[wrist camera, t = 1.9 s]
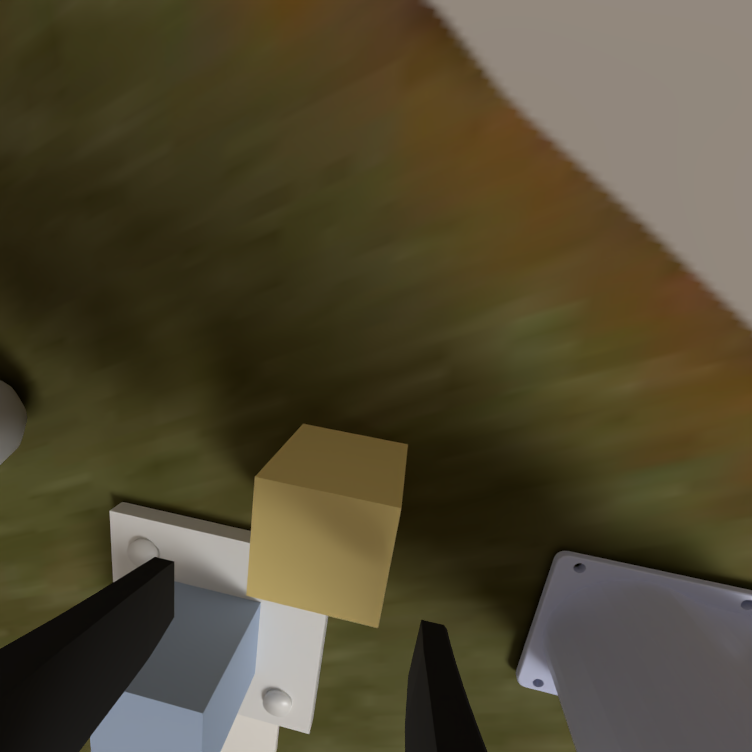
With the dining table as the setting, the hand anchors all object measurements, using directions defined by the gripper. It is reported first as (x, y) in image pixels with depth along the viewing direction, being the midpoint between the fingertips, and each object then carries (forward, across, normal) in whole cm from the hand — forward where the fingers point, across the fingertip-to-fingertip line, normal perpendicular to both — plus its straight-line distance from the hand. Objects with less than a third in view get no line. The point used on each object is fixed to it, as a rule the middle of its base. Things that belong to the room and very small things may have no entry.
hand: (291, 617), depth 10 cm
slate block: (+6, +6, +10) cm, 13 cm away
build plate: (+7, +6, +10) cm, 14 cm away
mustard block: (+8, 0, 0) cm, 8 cm away
